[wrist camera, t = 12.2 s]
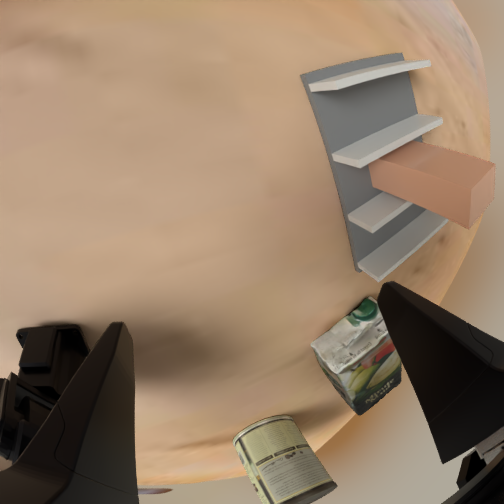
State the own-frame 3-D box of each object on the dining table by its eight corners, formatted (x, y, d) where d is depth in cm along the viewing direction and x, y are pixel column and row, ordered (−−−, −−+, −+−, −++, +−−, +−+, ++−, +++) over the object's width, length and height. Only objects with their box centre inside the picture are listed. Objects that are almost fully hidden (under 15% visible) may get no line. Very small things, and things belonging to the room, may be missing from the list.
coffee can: (300, 424, 39) (342, 486, 28) (249, 452, 38) (283, 515, 27) (281, 406, 34) (332, 486, 22) (219, 439, 33) (257, 520, 21)
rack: (355, 270, 27) (379, 288, 24) (299, 75, 16) (330, 69, 13) (425, 216, 28) (447, 227, 25) (397, 53, 18) (427, 51, 15)
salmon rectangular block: (372, 186, 22) (468, 229, 14) (366, 155, 21) (471, 189, 12) (405, 166, 23) (493, 199, 15) (400, 138, 21) (495, 163, 13)
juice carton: (302, 341, 29) (333, 380, 24) (369, 286, 29) (406, 316, 24) (337, 394, 40) (358, 419, 35) (382, 357, 41) (405, 379, 36)
